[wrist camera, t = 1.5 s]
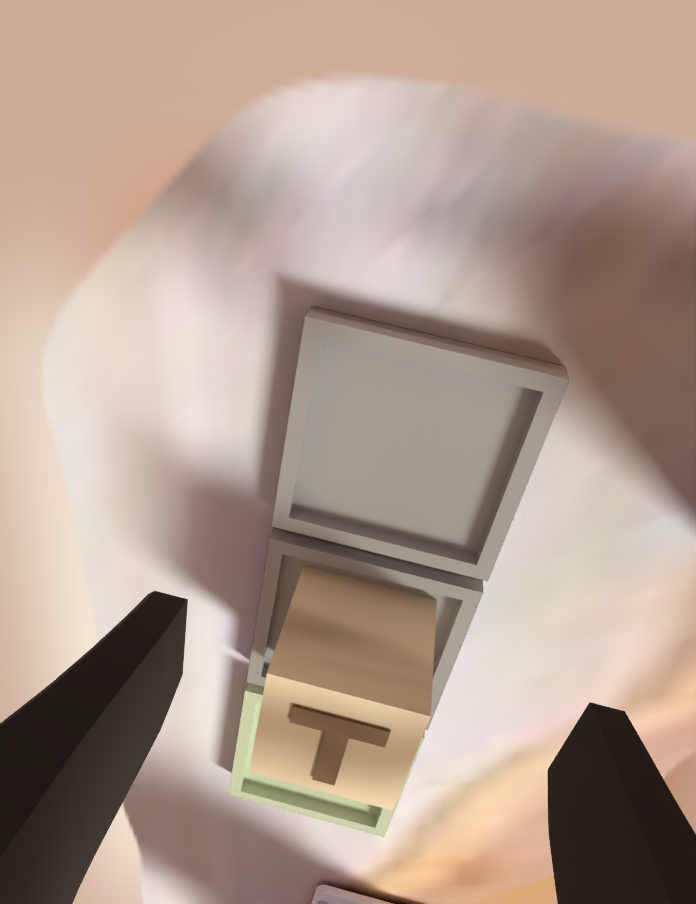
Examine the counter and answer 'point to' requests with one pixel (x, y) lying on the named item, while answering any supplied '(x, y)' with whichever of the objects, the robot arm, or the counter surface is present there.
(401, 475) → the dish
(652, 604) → the counter surface
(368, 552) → the middle dish
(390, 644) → the letter block
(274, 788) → the green dish
